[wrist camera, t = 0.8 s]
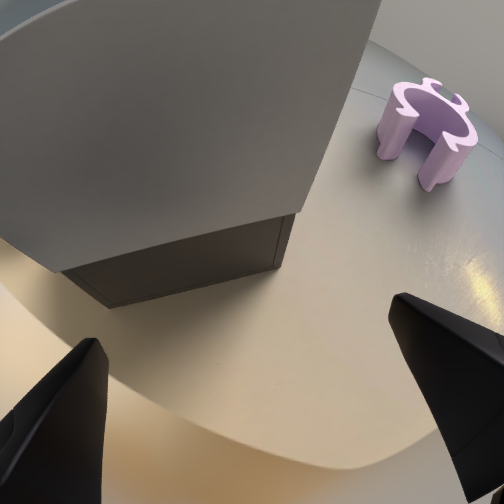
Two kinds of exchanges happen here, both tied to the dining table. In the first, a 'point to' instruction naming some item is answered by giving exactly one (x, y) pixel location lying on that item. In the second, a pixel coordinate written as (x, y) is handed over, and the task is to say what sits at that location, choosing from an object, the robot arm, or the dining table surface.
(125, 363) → the dining table surface
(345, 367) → the dining table surface
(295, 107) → the box lid
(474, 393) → the robot arm
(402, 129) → the clip
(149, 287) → the grey hinged lid box
